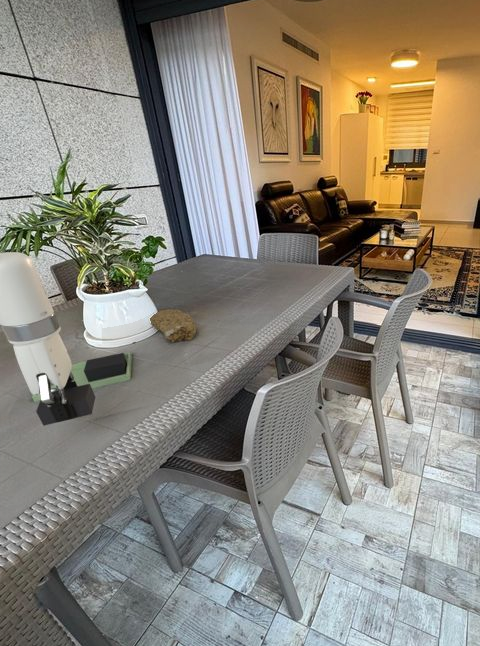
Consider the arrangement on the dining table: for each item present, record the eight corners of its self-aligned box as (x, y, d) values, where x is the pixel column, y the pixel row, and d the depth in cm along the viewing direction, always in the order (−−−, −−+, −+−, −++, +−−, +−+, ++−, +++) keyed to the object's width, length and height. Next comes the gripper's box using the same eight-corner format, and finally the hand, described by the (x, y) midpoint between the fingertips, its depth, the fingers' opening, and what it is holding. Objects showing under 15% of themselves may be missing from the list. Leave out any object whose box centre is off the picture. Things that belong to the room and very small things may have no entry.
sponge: (203, 341, 114) (188, 309, 127) (194, 322, 108) (180, 291, 121) (162, 357, 110) (151, 323, 123) (151, 339, 104) (141, 306, 117)
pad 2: (88, 382, 92) (83, 371, 90) (91, 371, 96) (86, 360, 95) (126, 373, 95) (122, 362, 93) (127, 363, 99) (123, 352, 98)
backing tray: (35, 403, 85) (31, 396, 84) (47, 376, 96) (44, 369, 95) (130, 381, 92) (128, 374, 91) (132, 358, 103) (130, 352, 102)
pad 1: (43, 425, 66) (35, 411, 64) (50, 407, 71) (43, 393, 69) (92, 414, 68) (85, 400, 67) (95, 397, 73) (89, 383, 72)
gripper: (20, 312, 66) (56, 390, 75) (-14, 354, 52) (36, 443, 61) (66, 305, 69) (96, 381, 78) (46, 344, 55) (85, 431, 64)
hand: (69, 408), depth 69 cm, fingers closed on pad 1, 6 cm apart
